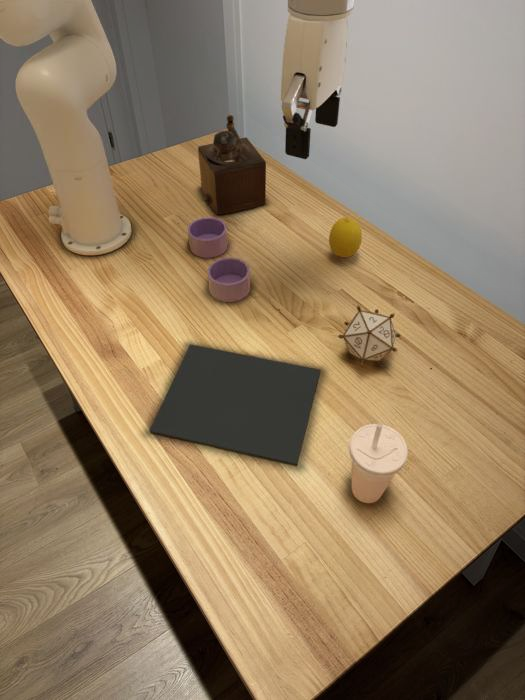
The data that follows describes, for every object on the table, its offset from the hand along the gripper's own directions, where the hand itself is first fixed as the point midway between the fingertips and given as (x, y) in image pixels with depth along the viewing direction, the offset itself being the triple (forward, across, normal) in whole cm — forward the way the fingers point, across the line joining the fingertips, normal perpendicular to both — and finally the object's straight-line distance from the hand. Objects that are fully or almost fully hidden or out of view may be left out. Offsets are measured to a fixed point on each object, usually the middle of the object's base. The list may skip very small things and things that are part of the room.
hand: (312, 139), depth 75 cm
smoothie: (+25, +32, +23) cm, 47 cm away
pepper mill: (+25, -14, -21) cm, 36 cm away
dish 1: (+25, -1, -19) cm, 31 cm away
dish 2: (+25, +8, -10) cm, 28 cm away
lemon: (+25, -9, +4) cm, 27 cm away
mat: (+25, +27, +2) cm, 37 cm away
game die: (+25, +11, +15) cm, 32 cm away
